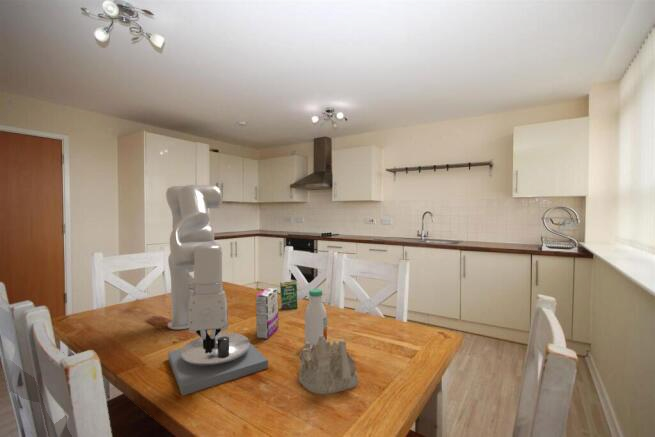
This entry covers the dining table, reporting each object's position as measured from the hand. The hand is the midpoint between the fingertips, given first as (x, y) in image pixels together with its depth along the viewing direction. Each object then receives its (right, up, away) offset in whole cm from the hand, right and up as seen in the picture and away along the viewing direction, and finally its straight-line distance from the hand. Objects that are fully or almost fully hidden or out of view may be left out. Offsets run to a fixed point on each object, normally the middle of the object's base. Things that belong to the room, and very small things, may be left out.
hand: (209, 350), depth 88 cm
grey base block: (-1, -8, +8) cm, 11 cm away
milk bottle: (+30, -7, +20) cm, 37 cm away
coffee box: (+15, -6, +62) cm, 64 cm away
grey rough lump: (+34, -8, 0) cm, 35 cm away
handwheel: (-1, -4, +8) cm, 9 cm away
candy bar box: (+11, -7, +32) cm, 34 cm away
